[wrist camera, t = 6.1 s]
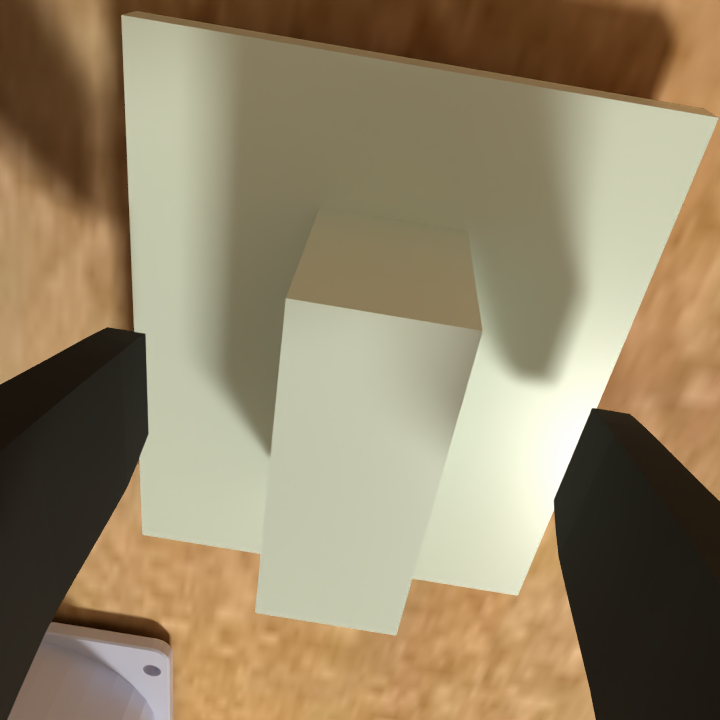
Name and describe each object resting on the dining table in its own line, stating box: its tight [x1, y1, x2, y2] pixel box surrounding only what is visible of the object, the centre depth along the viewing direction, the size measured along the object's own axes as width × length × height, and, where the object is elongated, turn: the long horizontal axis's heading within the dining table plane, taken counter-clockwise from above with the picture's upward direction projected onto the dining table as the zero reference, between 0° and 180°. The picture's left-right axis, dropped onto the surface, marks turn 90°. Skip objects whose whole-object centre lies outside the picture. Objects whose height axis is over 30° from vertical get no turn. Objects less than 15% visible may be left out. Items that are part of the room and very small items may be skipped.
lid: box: [121, 11, 719, 635], centre depth 12 cm, size 11×9×5 cm
